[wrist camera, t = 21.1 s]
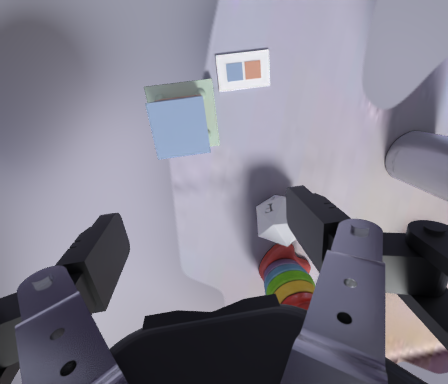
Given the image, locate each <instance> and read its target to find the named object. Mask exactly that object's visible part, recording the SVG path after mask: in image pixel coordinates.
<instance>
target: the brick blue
mask: <svg viewBox="0 0 448 384" xmlns="http://www.w3.org/2000/svg"><path fill="white" fill-rule="evenodd" d="M146 109H147V113H148V117H149V122H150V126H151V130H152V134H153V139H154V143H155V148H156V151H157V156H158V159H167V158H174V157H181V156H188V155H195V154H202V153H209V152H211V150H210V143H209V136H208V129H207V122H206V114H205V107H204V100H203V96H202V95H200V96H192V97H184V98H176V99H169V100H161V101H154V102H150V103H146Z"/></svg>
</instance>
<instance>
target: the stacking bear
mask: <svg viewBox="0 0 448 384" xmlns="http://www.w3.org/2000/svg"><path fill="white" fill-rule="evenodd" d="M310 269H311V267H310V264H309V263H308V261H307V260H305V259H301V258H298V257H297V256H296V255H295V252H294V247H293V245H292V244H290V245H289V246H288V247H287V246H284V245H281V244H278V243H277V244H276V245H275V246H273V247H272V248H271V249H270V250H269V251H268V252H267V253H266V255H265V256H264V258H263V259H262V261H261V264H260V267H259V273H260V276H261V278H262V279H263V281H264V287H265V293H266V295H270V294H276V296H277V298H278V301H279V303H280V304H287V305H293V306H296V307H300V308H303V309H306V310H308V308H309V305H310V302H311V299H312V295H313V292H314V289H315V284H314V281H313V279H312V278H311V276H310V275H309V272H310Z"/></svg>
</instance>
